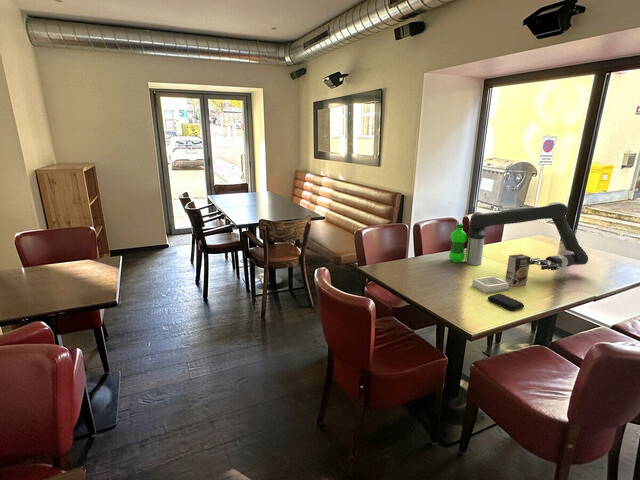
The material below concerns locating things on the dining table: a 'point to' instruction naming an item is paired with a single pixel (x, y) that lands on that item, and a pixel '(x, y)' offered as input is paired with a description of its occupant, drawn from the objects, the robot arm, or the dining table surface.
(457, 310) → the dining table surface
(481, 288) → the white rectangular tray
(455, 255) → the plastic bottle
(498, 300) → the carrying case or bag
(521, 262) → the coffee box
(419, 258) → the dining table surface
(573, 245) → the robot arm
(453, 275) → the dining table surface
